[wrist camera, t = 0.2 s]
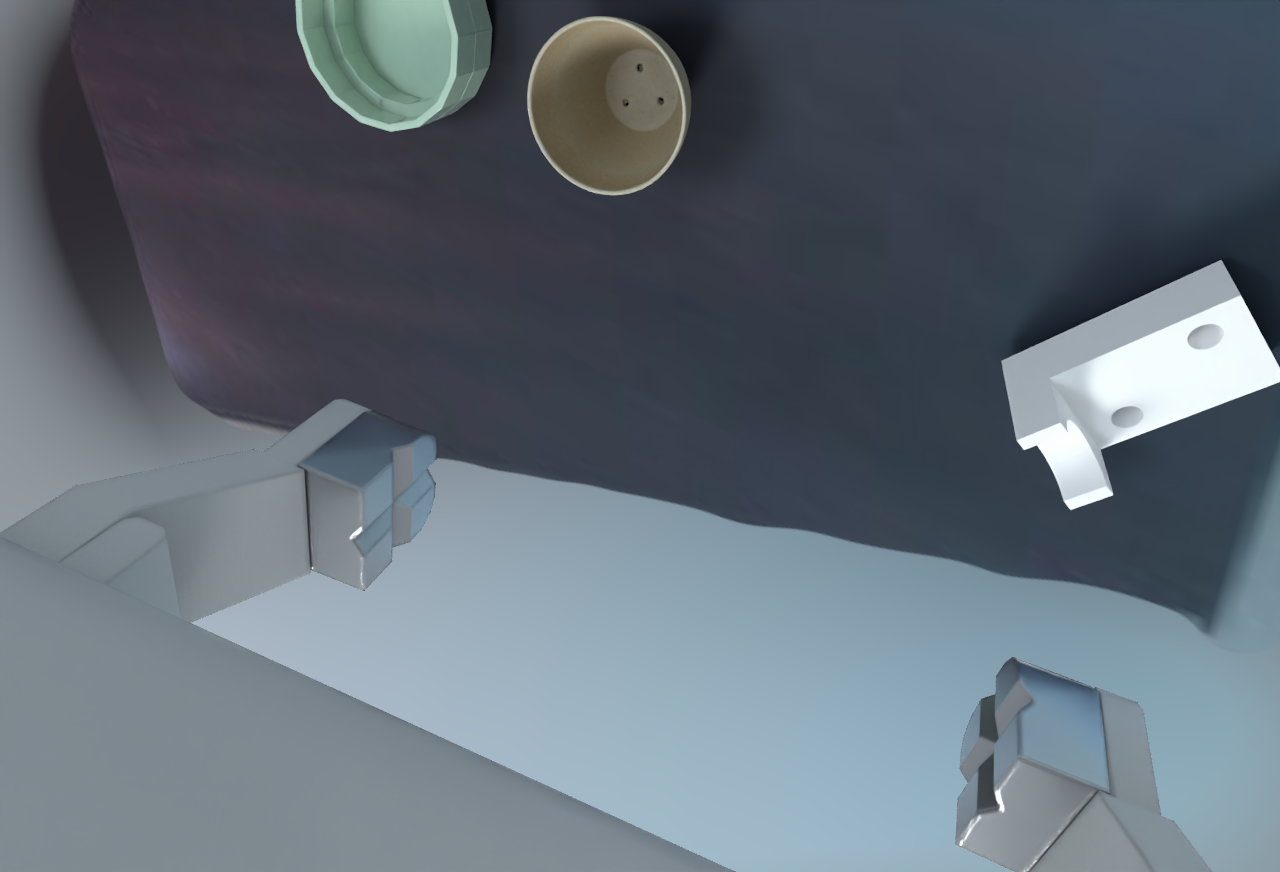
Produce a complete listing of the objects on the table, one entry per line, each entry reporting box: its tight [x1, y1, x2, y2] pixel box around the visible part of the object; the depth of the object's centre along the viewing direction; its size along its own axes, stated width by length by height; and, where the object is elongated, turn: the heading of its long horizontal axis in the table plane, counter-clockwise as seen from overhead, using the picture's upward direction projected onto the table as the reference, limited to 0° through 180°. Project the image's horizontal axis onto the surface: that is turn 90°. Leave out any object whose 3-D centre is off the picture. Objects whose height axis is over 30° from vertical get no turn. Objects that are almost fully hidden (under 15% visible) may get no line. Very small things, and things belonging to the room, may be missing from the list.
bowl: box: [296, 0, 492, 132], centre depth 58 cm, size 12×12×5 cm
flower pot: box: [527, 16, 691, 195], centre depth 54 cm, size 10×10×7 cm
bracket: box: [1001, 260, 1280, 510], centre depth 52 cm, size 13×7×8 cm, turn 129°
